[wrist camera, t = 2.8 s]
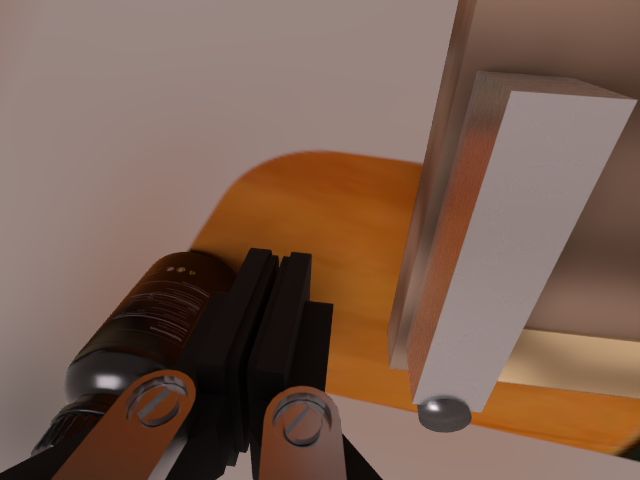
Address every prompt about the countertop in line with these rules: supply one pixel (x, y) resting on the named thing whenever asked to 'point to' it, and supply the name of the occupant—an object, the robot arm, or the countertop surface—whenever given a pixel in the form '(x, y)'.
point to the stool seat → (597, 215)
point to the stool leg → (503, 230)
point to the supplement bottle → (137, 339)
